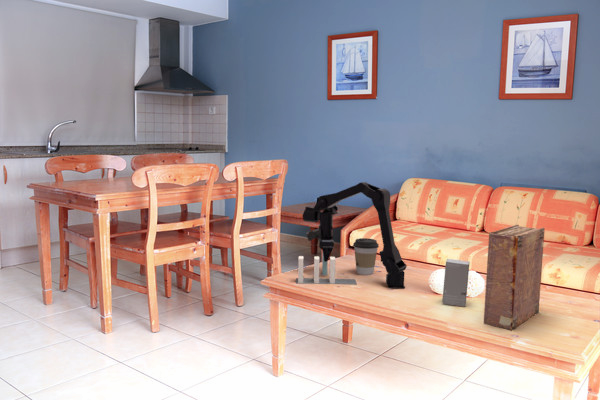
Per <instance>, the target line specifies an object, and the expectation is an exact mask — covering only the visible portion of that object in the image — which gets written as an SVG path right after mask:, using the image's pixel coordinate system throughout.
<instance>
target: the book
mask: <svg viewBox="0 0 600 400" xmlns="http://www.w3.org/2000/svg"><path fill="white" fill-rule="evenodd" d="M544 241H545V227H542V228H541V227H540V228H534V227H526V226H519V224H514V225H511V226H508V227H504V228H502V229H499V230H495V231H491V232H489V233H488V245H487V246H488V247H487V261H486V276H485V277H486V280H485V295H484V296H485V297H484V309H483V310H484V312H483V324H484V325H490V326H493V327H496V328H501V329H504V330H510V331H513V330H515V329H516V328H518V327H519V326H521V325H522V324H524V323H526V321H528V320H530V319H531V318H533V317H534V316H536V315H537V314H539V312H540V311H539V310H540V298H541V297H540V296H541V283H542V282H541V281H542V272H543V270H542V269H543V254H544ZM535 314H536V315H535ZM532 316H533V317H532ZM529 318H530V319H529Z"/></svg>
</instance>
